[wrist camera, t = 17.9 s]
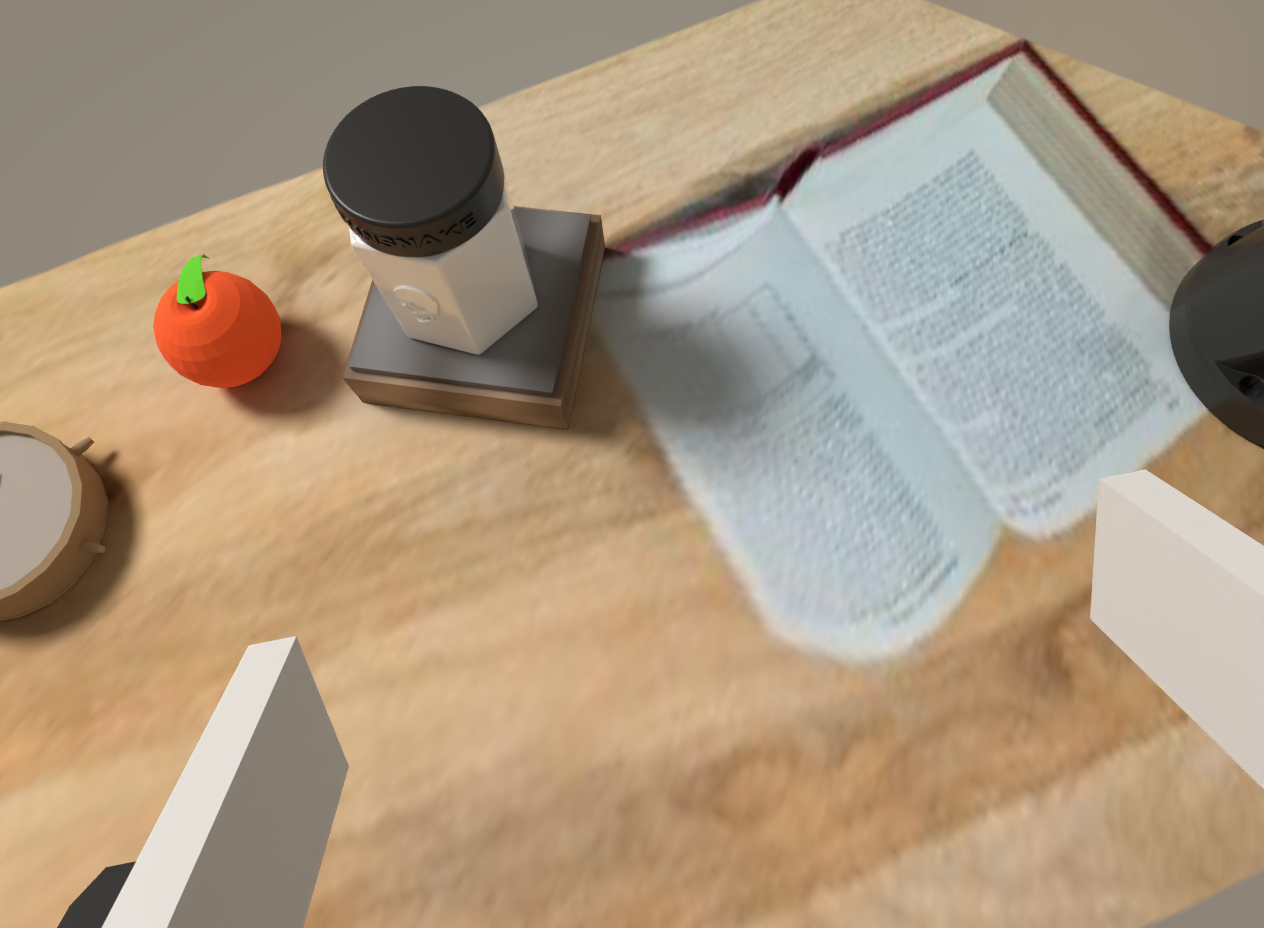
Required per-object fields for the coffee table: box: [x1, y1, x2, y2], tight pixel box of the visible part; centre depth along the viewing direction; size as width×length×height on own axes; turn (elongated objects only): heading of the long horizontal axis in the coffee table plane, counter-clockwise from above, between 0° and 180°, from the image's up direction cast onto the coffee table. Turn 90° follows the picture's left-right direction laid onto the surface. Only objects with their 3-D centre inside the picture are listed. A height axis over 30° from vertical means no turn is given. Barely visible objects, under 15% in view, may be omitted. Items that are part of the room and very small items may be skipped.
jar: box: [323, 86, 538, 355], centre depth 46 cm, size 9×8×12 cm
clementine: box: [153, 255, 281, 388], centre depth 52 cm, size 8×7×7 cm
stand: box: [343, 206, 605, 429], centre depth 53 cm, size 13×13×4 cm
